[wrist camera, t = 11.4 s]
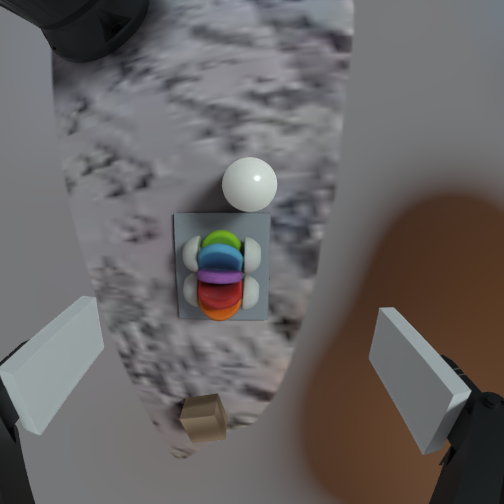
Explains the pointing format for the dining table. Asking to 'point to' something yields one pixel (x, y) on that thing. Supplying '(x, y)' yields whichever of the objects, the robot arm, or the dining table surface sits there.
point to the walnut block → (204, 418)
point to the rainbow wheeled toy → (221, 274)
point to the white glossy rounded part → (249, 184)
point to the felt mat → (241, 228)
